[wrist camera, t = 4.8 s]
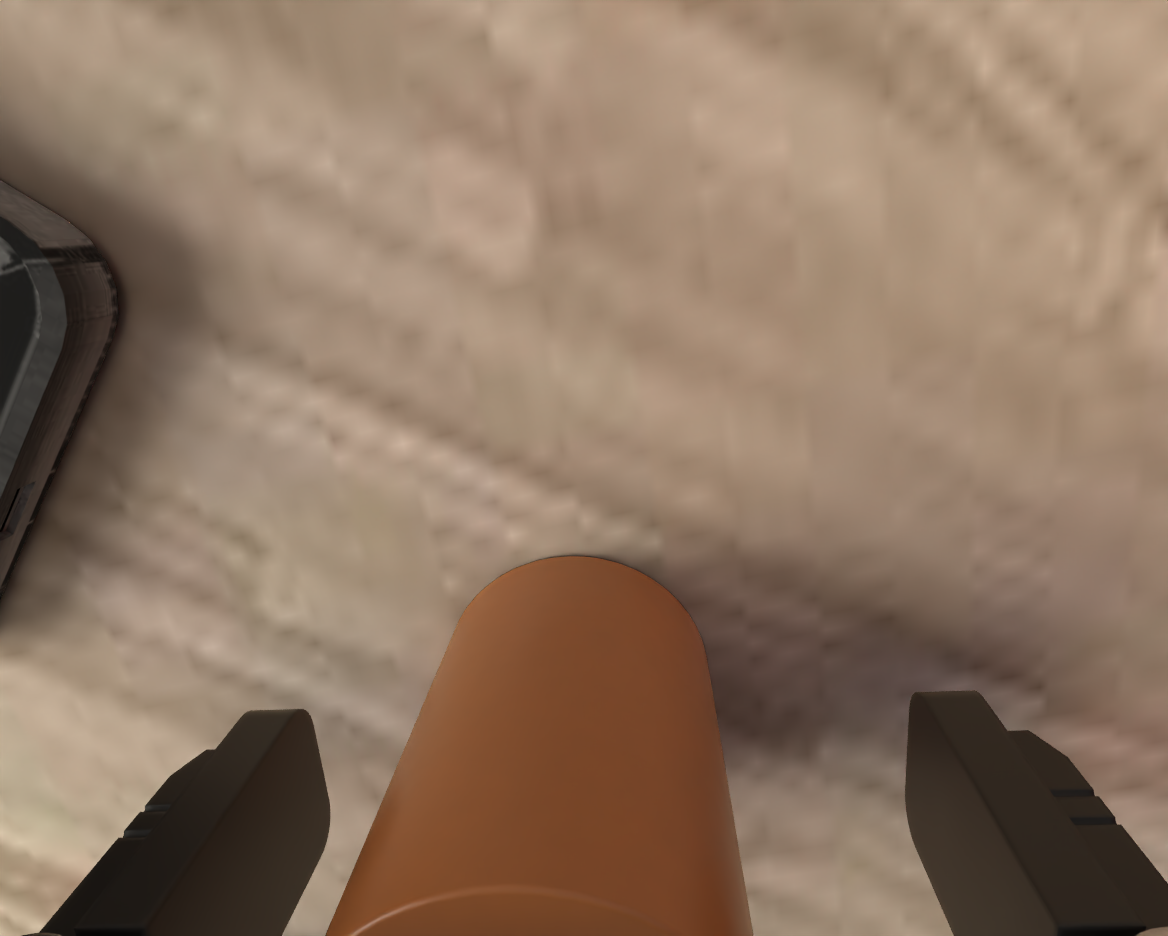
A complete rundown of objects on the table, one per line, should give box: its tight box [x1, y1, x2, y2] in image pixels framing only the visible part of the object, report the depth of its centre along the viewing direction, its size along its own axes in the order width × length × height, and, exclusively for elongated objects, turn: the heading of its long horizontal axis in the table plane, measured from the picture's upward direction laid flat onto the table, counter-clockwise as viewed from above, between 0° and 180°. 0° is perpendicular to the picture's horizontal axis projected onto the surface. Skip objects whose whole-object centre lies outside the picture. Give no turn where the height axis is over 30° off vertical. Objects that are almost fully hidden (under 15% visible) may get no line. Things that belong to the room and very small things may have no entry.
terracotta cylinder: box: [325, 556, 753, 936], centre depth 10 cm, size 4×4×6 cm
